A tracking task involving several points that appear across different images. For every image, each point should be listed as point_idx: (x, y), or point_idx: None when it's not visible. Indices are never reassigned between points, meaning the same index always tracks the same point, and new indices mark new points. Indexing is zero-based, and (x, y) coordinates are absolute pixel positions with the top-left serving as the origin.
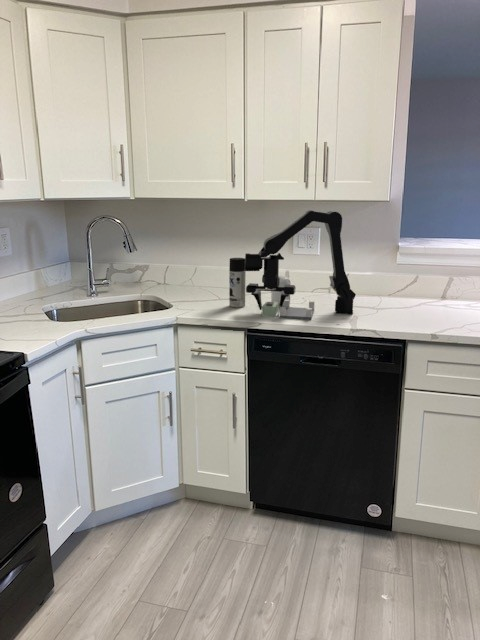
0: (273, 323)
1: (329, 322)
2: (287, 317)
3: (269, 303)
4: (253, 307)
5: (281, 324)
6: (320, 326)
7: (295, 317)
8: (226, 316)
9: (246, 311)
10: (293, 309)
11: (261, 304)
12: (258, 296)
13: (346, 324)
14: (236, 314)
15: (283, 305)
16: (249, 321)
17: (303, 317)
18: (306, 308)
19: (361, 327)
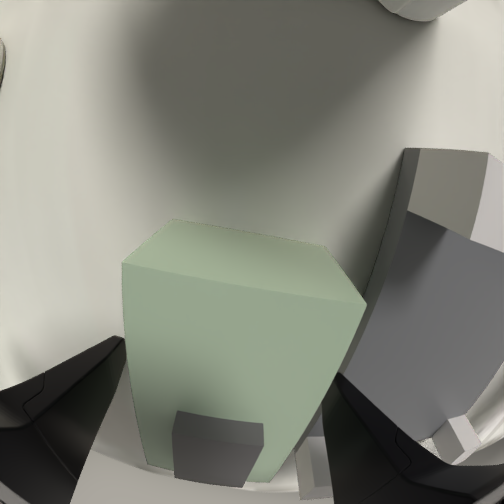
0: (248, 486)
1: (474, 425)
2: None
3: (207, 474)
4: (51, 84)
5: (284, 490)
6: None
7: None
8: (3, 369)
9: (21, 262)
10: (467, 280)
11: (99, 371)
12: (67, 501)
13: (495, 423)
14: (12, 341)
15: (395, 12)
16: (129, 459)
17: (420, 437)
18: (456, 459)
19: (499, 430)
